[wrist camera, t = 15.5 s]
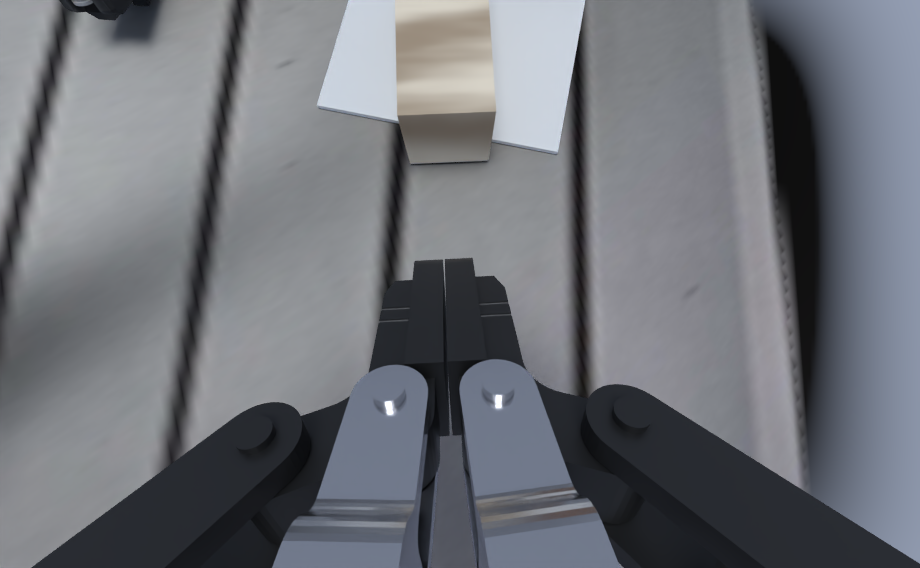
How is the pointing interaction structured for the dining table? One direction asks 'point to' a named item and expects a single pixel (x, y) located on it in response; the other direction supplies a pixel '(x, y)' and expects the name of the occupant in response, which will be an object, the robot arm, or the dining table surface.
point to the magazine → (102, 7)
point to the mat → (514, 64)
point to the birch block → (445, 79)
